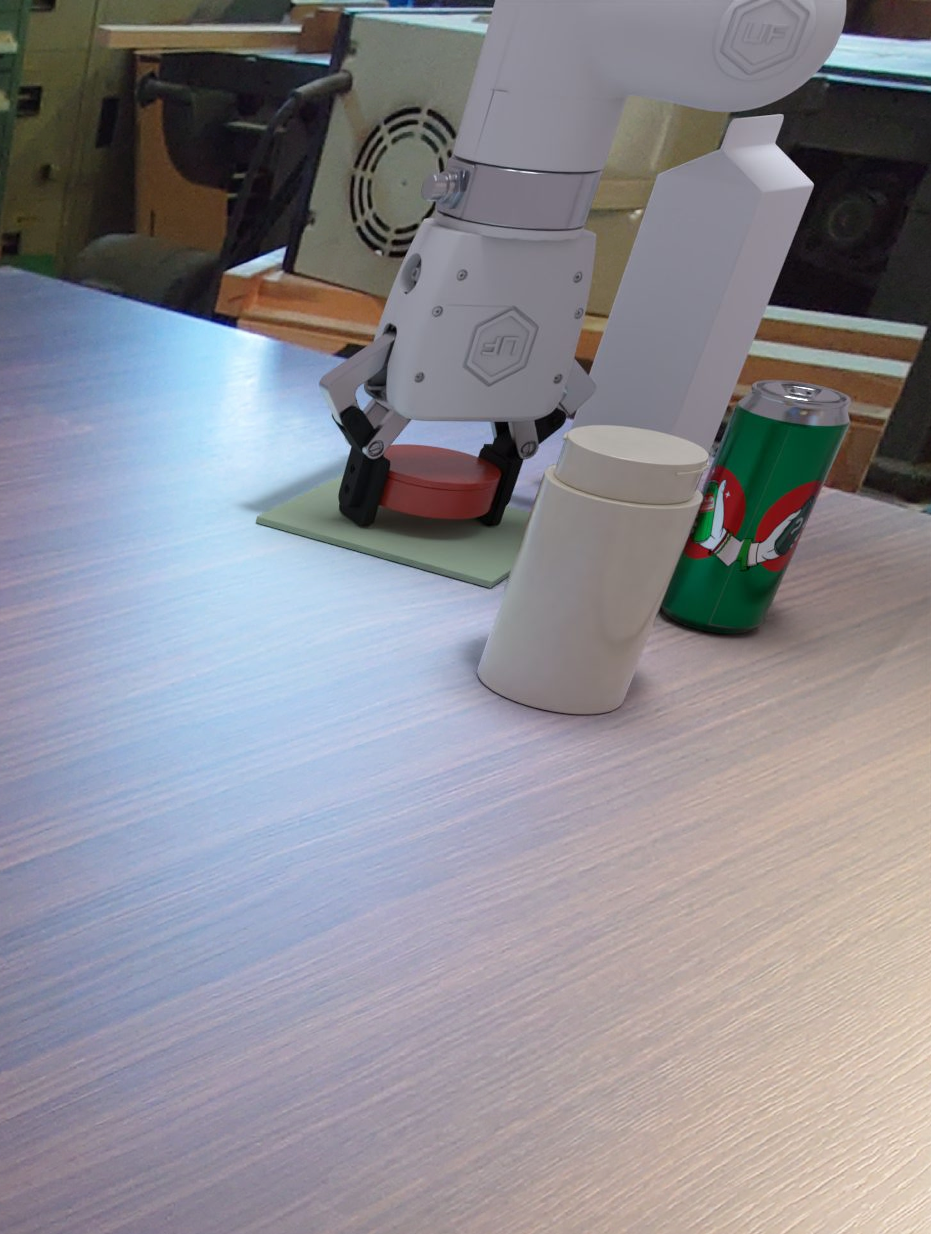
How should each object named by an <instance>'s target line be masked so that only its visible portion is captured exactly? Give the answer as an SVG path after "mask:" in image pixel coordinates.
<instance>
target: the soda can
mask: <svg viewBox="0 0 931 1234" xmlns="http://www.w3.org/2000/svg"><path fill="white" fill-rule="evenodd" d="M851 401H852V399H851V397H850V396H849V395H847V394H845V393H843V392H842V391H839V390H836V389H833V388H830V387H826V386H822V385H818V384H814V383H809V382H802V381H794V380H783V379H766V380H757V381H755V382H753V384H752V385H751V386H750V391H749V392H748V393H747V394H746V395H744V396H743V397H742V398H741V399H740V400H739V401H737V402H736V403H735V405H734V408H733V410H732V412H731V415H730V418H729V420H728V423H727V425H726V428H725V430H724V433H723V435H722V437H721V440H720V442H719V445H718V448H717V450H716V453H715V456H714V458H713V461H712V463H711V466H710V468H709V471H708V473H707V476H706V477H705V478H706V479H705V481H704V484H703V485H702V488H701V491H700V492H701V493H702V495H703V501H702V504H701V506H700V509H699V511H698V514H697V516H696V519H695V521H694V524H693V526H692V529H691V531H690V534H689V536H688V539H687V541H686V544H685V547H684V549H683V552H682V554H681V557H680V559H679V562H678V564H677V567H676V569H675V572H674V574H673V577H672V579H671V582H670V584H669V587H668V589H667V592H666V595H665V597H664V600H663V602H662V605H661V608H662V610H663V612H664V614H665V615H666V617H668V618H670V619H671V620H673V621H675V622H676V623H678V624H680V625H683V626H685V627H689V628H692V629H695V630H699V631H702V632H707V633H714V634H722V635H736V634H744V633H746V632H747V633H748V632H749V631H751V630H753V629H755V628H757V627H758V626H760V625H762V624H763V623H764V622H765V620H766V618H767V615H768V614H769V611H770V608H771V606H772V604H773V602H774V600H775V597H776V595H777V592H778V590H779V588H780V586H781V584H782V582H783V579H784V577H785V574H786V572H787V570H788V567H789V566H790V563H791V560H792V558H793V556H794V553H795V551H796V549H797V547H798V545H799V542H800V540H801V538H802V536H803V533H804V531H805V528H806V526H807V524H808V522H809V519H810V517H811V515H812V513H813V510H814V508H815V505H816V503H817V501H818V499H819V496H820V494H821V492H822V489H823V487H824V485H825V483H826V480H827V478H828V476H829V474H830V471H831V469H832V467H833V464H834V462H835V460H836V458H837V455H838V453H839V451H840V448H841V446H842V444H843V441H844V439H845V437H846V434H847V432H848V430H849V428H850V426H851V420H850V415H849V411H848V407H849V406H850V404H851Z"/></svg>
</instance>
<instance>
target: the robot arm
mask: <svg viewBox="0 0 931 1234" xmlns="http://www.w3.org/2000/svg"><path fill="white" fill-rule="evenodd" d="M846 16H847V0H494V3H493V7H492V11H491V14H490V18H489V22H488V25H487V29H486V32H485V36H484V39H483V43H482V46H481V50H480V53H479V57H478V60H477V64H476V68H475V71H474V74H473V79H472V82H471V85H470V89H469V92H468V96H467V99H466V103H465V107H464V110H463V114H462V117H461V121H460V125H459V128H458V131H457V132H458V133H457V136H456V138H455V142H454V145H453V150H452V154H451V157H448V159H447V162H446V165H445V169H444V170H443V171H441V172H440V173H429V174H427V175H426V176H425V178H424V180H423V182H422V185H421V191H420V192H421V198H422V200H424V201H426V202H427V201H428V202H429V201H430V202H434V203H435V205H434V210H435V213H434V217H428V218H424V219H423V220H422V222H421V224H420V226H419V228H418V230H417V231H416V234H415V235H414V237H413V239H412V242H411V244H410V245H409V248H408V250H407V252H406V254H405V256H404V257H403V261H402V263H401V265H400V267H399V270H398V272H397V274H396V277H395V279H394V281H393V284H392V286H391V289H390V292H389V295H388V297H387V300H386V303H385V306H384V309H383V311H382V314H381V317H380V319H379V323H378V325H377V329H376V332H375V335H374V338H373V341H372V342H371V343H369V344H368V345H366V346H365V347H363V348H362V349H361V350H359V351H358V352H356V353H355V354H353V355H352V356H350V357H348V358H347V359H346V360H344V361H343V362H342V363H340V364H339V365H338V366H336V367H334V368H332V369H331V370H329V372H327V373H325V374H324V375H323V376H322V377H321V378H320V380H319V381H318V382H319V383H318V387H319V390H320V392H321V394H322V397H323V398H324V401H325V403H326V405H327V407H328V409H329V410H330V412H331V418H332V420H333V421H334V423H335V424H336V426H337V427H338V429H339V430H340V432H341V433H342V435H343V437H344V442H346V444H347V445H349V446H350V450H349V454H348V456H347V461H346V465H345V469H344V472H343V474H344V475H343V474H342V475H343V479H342V482H341V486H340V490H339V494H338V499H339V510H340V512H341V513H343V514H344V515H345V516H347V517H348V518H349V519H351V520H352V521H353V522H355V523H356V524H357V525H359V526H370V525H371V524H373V522H374V520H375V517H376V514H377V510H378V507H379V503H380V500H381V496H382V493H383V490H384V486H385V483H386V479H387V476H388V473H389V469H390V460H388V459H387V458H385V457H384V453H385V451H386V450H387V449H388V448H389V446H390V445H393V443H394V442H395V440H396V439H397V438H398V437H399V435H400V434H401V433H402V432H403V431H404V429H406V427H407V426H408V424H410V422H411V421H420V422H468V423H469V422H471V423H472V422H473V423H474V422H475V423H476V422H480V423H481V422H482V423H483V422H484V423H485V422H486V423H487V422H490V427H491V432H492V438H493V440H492V443H484V444H483V446H482V448H481V449H480V450H479V453H478V456H477V457H479V458H482V459H484V460H486V461H488V462H490V463H492V464H493V465H495V466H496V467H498V468H499V470H500V471H501V477H500V480H499V483H498V486H497V489H496V493H495V496H494V499H493V502H492V505H491V508H490V510H489V511H488V512H487V513H486V514H484V515H482V516H479V517H475V518H477V519H478V520H480V521H481V522H483V523H484V524H486V525H488V526H498V525H499V524H500V522H501V520H502V517H503V514H504V511H505V508H506V506H508V505H509V504H510V501H511V499H512V496H513V493H514V490H515V487H516V484H517V481H518V478H519V475H520V472H521V470H522V466H523V463H524V460H529V459H531V458H533V457H534V456H535V455H536V454H537V452H538V451H539V449H540V448H539V447H540V445H541V444H542V443H543V442H545V441H546V440H547V439H548V438H550V437H551V436H552V435H553V434H555V433H556V432H557V431H558V430H560V429H562V427H563V426H564V424H565V423H566V422H567V421H566V420H567V418H568V417H569V416H572V415H573V414H574V413H576V412H577V409H578V408H579V407H580V406H581V405H582V404H583V403H584V402H586V401H587V400H588V399H589V398H590V397H591V396H592V395H593V394H594V392H595V390H596V385H595V383H594V382H593V381H592V379H591V378H590V377H589V374H588V373H587V371H586V370H585V369H584V368H583V366H581V364H580V363H579V361H577V359H576V358H575V355H576V352H577V348H578V344H579V340H580V337H581V332H582V329H583V325H584V320H585V316H586V311H587V306H588V302H589V299H590V292H591V287H592V281H593V274H594V265H595V256H596V248H597V247H596V246H597V233H595V232H593V231H591V230H588V229H585V226H586V224H587V221H588V218H589V215H590V211H591V208H592V206H593V203H594V200H595V196H596V193H597V190H598V187H599V184H600V181H601V178H602V175H603V172H604V170H603V169H605V166H606V163H607V160H608V157H609V154H610V151H611V148H612V145H613V141H614V138H615V136H616V133H617V129H618V126H619V124H620V121H621V117H622V115H623V111H624V109H625V105H626V102H627V99H628V97H629V96H637V97H643V98H649V99H653V100H659V101H662V102H667V103H673V104H677V105H680V106H685V107H689V108H693V109H698V110H703V111H708V112H715V113H737V112H743V111H744V112H745V111H751V110H754V109H759V108H762V107H765V106H767V105H770V104H773V103H775V102H777V101H779V100H781V99H783V98H785V97H787V96H789V95H790V94H791V93H793V92H795V91H796V90H798V89H800V88H801V87H802V86H804V84H806V83H807V82H808V81H809V80H811V78H812V77H814V76H815V74H816V73H818V71H819V70H820V69H822V67H823V66H824V65H825V64H826V62H827V60H828V59H830V57H831V54H833V51H834V50H835V48H836V46H837V44H838V42H839V40H840V37H841V36H842V33H843V29H844V26H845V22H846ZM362 385H363V390H364V392H365V394H367V395H368V396H369V397H371V400H370V401H369V402H368V403H367V404H366V406H365V407H364V408H363V410H362V409H361V407H360V405H359V403H358V399H357V396H356V394H357V390H358V388H360V387H361V386H362Z"/></svg>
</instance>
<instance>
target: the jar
mask: <svg viewBox="0 0 931 1234" xmlns="http://www.w3.org/2000/svg"><path fill="white" fill-rule="evenodd" d="M562 441H563V444H562V447H561V450H560V454H559V456H558V459H557V462H556V463H554V464H551V465H550V466H547V467H546V469H545V470H544V471H543V475H542V477H541V481H540V482H539V486H538V489H537V493H536V495H535V498H534V501H533V504H532V507H531V510H530V512H531V513H530V516H529V518H528V521H527V524H526V527H525V530H524V533H523V536H522V539H521V542H520V545H519V548H518V551H517V554H516V557H515V560H514V563H513V566H512V569H511V572H510V575H509V576H508V577H507V580H506V584H505V587H504V589H503V592H502V595H501V598H500V602H499V604H498V607H497V611H496V613H495V615H494V619H493V622H492V625H491V627H490V631H489V634H488V637H487V640H486V642H485V646H484V650H483V651H482V655H481V658H480V660H479V664H478V666H477V670H476V671H477V672H476V674H477V677H478V678H479V680H480V681H481V682H482V684H483V685H485V686H486V687H487V688H488V689H490V690H491V691H493V692H494V693H496V694H498V695H500V696H502V697H504V698H506V699H508V700H510V701H514V702H516V703H519V704H521V705H525V706H528V707H532V708H535V709H539V710H543V711H549V712H555V713H560V714H571V715H599V714H606V713H608V712H612V711H615V710H617V709H618V708H619V707H621V705H623V703H624V701H625V698H626V696H627V693H628V690H629V688H630V685H631V683H632V681H633V678H634V675H635V673H636V670H637V668H638V665H639V663H640V661H641V658H642V655H643V653H644V650H645V648H646V645H647V643H648V640H649V638H650V635H651V632H652V630H653V627H654V625H655V622H656V621H657V620H656V619H657V617H658V615H659V612H660V609H661V608H662V606H661V605H662V602H663V600H664V597H665V595H666V592H667V589H668V587H669V584H670V582H671V579H672V577H673V574H674V572H675V569H676V567H677V564H678V562H679V559H680V557H681V554H682V552H683V549H684V547H685V544H686V541H687V539H688V536H689V534H690V531H691V529H692V526H693V524H694V521H695V519H696V516H697V514H698V511H699V509H700V506H701V504H702V501H703V495H702V493H701V491H700V490H699V488H698V486H699V484H700V482H701V479H702V476H703V474H704V472H706V471H707V470H708V469H709V467H710V453H709V454H708V452H707V451H706V450H705V449H704V448H702V447H700V446H699V445H697V444H695V443H693V442H690V441H688V440H685V439H682V438H679V437H676V436H673V435H669V434H665V433H661V432H656V431H651V430H646V429H640V428H633V427H624V426H611V425H591V426H582V427H577V428H574V429H572V430H570V429H569V430H568V431H566V432H564V434H563V437H562Z"/></svg>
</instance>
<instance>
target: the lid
mask: <svg viewBox="0 0 931 1234" xmlns="http://www.w3.org/2000/svg"><path fill="white" fill-rule="evenodd" d="M384 457H385V458H387V459H388V460H390V469H389V473H388V476H387V479H386V483H385V486H384V490H383V493H382V496H381V500H380V503H379V505H380V506H383V507H385V508H388V509H391V510H395V511H398V512H402V513H406V514H411V515H416V516H422V517H429V518H438V519H468V518H475V517H479V516H482V515H484V514H486V513H487V512H488V511H489V510H490V508H491V505H492V502H493V499H494V496H495V493H496V489H497V486H498V483H499V480H500V477H501V471H500V470H499V468H498V467H496V466H495V465H493V464H492V463H490V462H488V461H486V460H484V459H482V458H479V457H478V456H476V455H473V454H469V453H467V452H463V451H459V450H455V449H451V448H447V447H446V448H445V447H440V446H432V445H423V444H409V443H407V444H405V443H404V444H403V443H402V444H401V443H400V444H391V445H390V446H389V448H388V449H387V450H386V451H385V453H384Z"/></svg>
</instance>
